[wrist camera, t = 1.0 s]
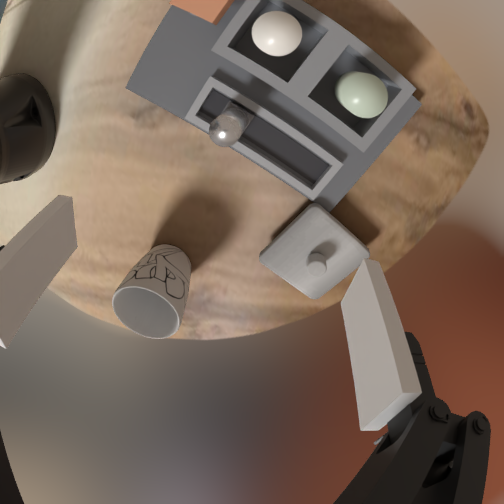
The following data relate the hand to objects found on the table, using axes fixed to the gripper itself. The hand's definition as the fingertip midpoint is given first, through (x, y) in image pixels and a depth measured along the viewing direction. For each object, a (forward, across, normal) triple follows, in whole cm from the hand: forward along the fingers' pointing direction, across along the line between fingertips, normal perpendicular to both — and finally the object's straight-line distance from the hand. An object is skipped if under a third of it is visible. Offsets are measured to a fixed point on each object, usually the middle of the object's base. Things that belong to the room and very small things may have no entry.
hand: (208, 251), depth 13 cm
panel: (+22, +1, +6) cm, 23 cm away
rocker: (+18, -6, +13) cm, 23 cm away
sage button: (+17, +8, +7) cm, 20 cm away
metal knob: (+21, -1, +1) cm, 21 cm away
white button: (+17, +1, +10) cm, 20 cm away
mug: (+22, -8, -21) cm, 32 cm away
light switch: (+22, +11, -12) cm, 27 cm away
